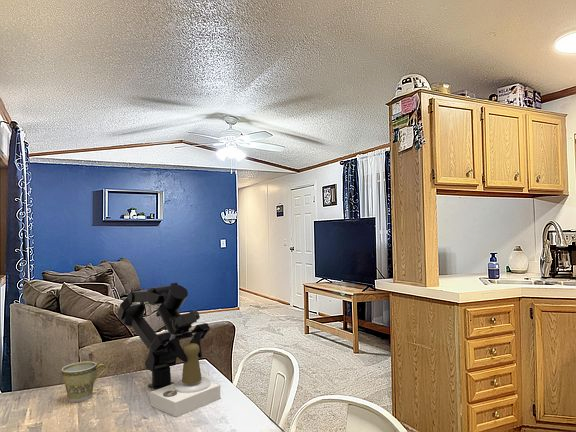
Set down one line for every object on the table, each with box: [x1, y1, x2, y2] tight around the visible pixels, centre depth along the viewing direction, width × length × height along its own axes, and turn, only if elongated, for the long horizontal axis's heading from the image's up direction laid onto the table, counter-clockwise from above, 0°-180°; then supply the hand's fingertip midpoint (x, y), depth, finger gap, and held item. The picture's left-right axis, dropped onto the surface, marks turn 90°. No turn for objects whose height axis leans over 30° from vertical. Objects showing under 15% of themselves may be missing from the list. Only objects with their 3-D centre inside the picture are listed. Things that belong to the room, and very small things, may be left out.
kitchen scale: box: [149, 376, 221, 418], centre depth 132 cm, size 13×16×5 cm
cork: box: [181, 342, 203, 384], centre depth 134 cm, size 6×6×11 cm
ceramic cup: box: [61, 361, 106, 403], centre depth 140 cm, size 13×10×10 cm
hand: (193, 359), depth 134 cm, fingers closed on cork, 5 cm apart
